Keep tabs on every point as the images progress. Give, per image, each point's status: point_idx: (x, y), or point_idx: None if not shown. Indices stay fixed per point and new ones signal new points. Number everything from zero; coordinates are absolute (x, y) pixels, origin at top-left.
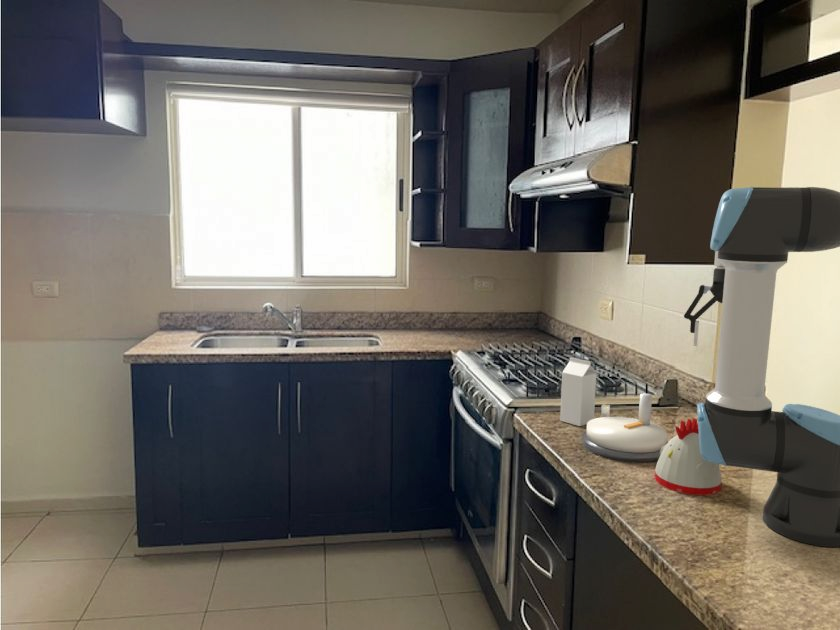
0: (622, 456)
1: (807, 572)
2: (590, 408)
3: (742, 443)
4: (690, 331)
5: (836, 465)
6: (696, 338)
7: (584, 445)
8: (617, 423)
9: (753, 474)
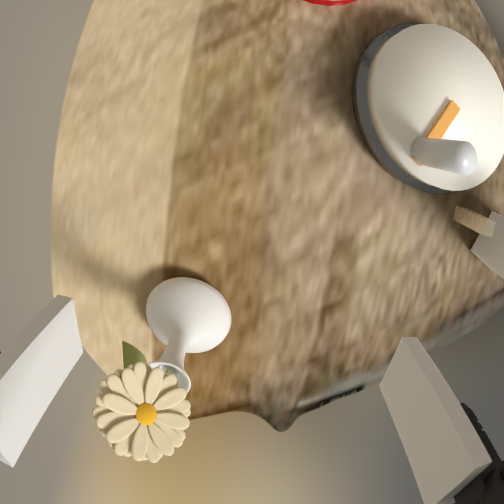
0: None
1: None
2: (494, 247)
3: None
4: (468, 408)
5: None
6: (425, 369)
7: None
8: (468, 136)
9: (193, 31)
